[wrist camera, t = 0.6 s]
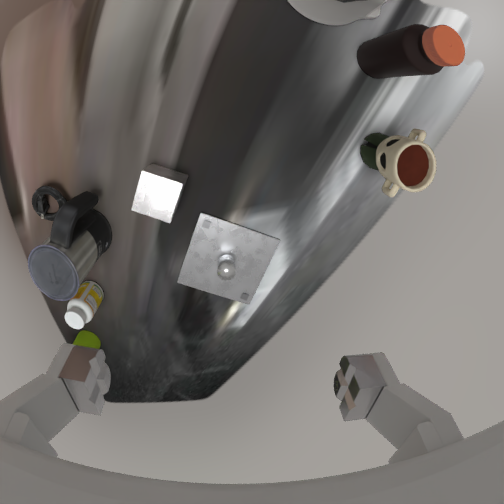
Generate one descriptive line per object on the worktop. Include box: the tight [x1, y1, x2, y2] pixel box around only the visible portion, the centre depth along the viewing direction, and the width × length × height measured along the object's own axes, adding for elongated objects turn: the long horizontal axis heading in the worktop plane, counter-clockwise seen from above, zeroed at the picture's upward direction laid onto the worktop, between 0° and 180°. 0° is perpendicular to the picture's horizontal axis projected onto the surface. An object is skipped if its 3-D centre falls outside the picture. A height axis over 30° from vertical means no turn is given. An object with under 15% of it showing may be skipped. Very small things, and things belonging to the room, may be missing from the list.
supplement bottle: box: [65, 281, 104, 329], centre depth 51 cm, size 5×5×10 cm
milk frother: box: [28, 186, 112, 301], centre depth 42 cm, size 14×16×15 cm
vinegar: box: [357, 24, 465, 79], centre depth 31 cm, size 7×7×20 cm
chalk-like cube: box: [132, 163, 188, 223], centre depth 45 cm, size 6×6×6 cm
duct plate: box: [177, 212, 280, 304], centre depth 52 cm, size 14×14×4 cm
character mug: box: [361, 129, 436, 197], centre depth 41 cm, size 11×7×13 cm, turn 155°
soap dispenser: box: [73, 331, 101, 349], centre depth 52 cm, size 6×7×20 cm
